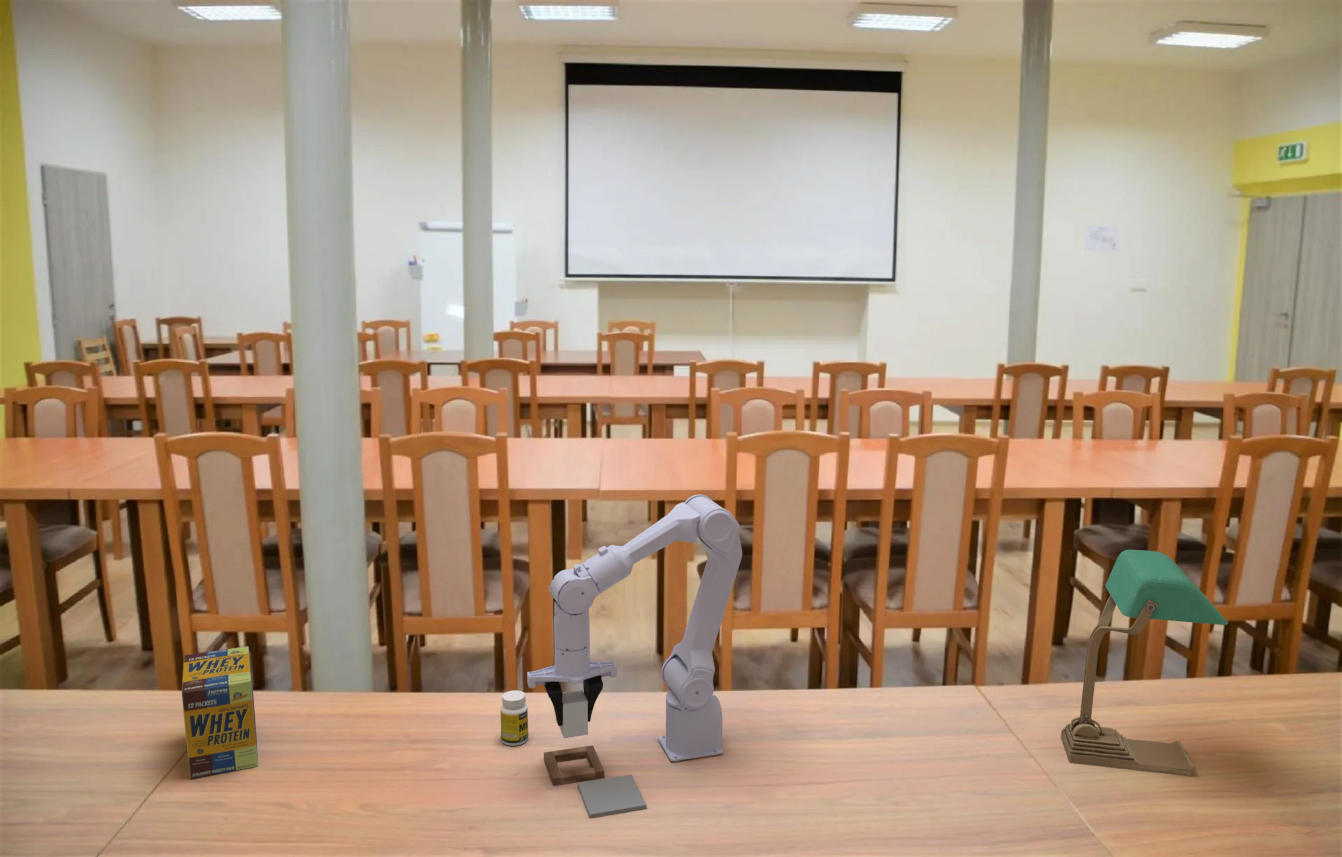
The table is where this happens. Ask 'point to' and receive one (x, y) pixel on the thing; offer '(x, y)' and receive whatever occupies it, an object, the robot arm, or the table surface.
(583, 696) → the block
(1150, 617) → the banker's lamp
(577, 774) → the holder
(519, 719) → the supplement bottle
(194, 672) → the protein box
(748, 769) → the table surface
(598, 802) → the coaster
